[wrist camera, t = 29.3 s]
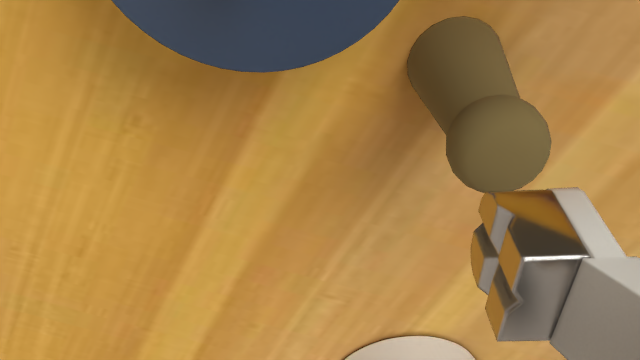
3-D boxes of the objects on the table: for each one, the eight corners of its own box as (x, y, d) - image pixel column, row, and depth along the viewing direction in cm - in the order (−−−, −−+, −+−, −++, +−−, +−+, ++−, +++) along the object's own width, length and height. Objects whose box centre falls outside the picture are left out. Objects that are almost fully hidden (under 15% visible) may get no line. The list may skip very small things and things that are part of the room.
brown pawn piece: (387, 71, 39) (421, 176, 30) (455, -4, 36) (514, 89, 27) (453, 118, 41) (501, 228, 33) (521, 52, 39) (594, 153, 30)
